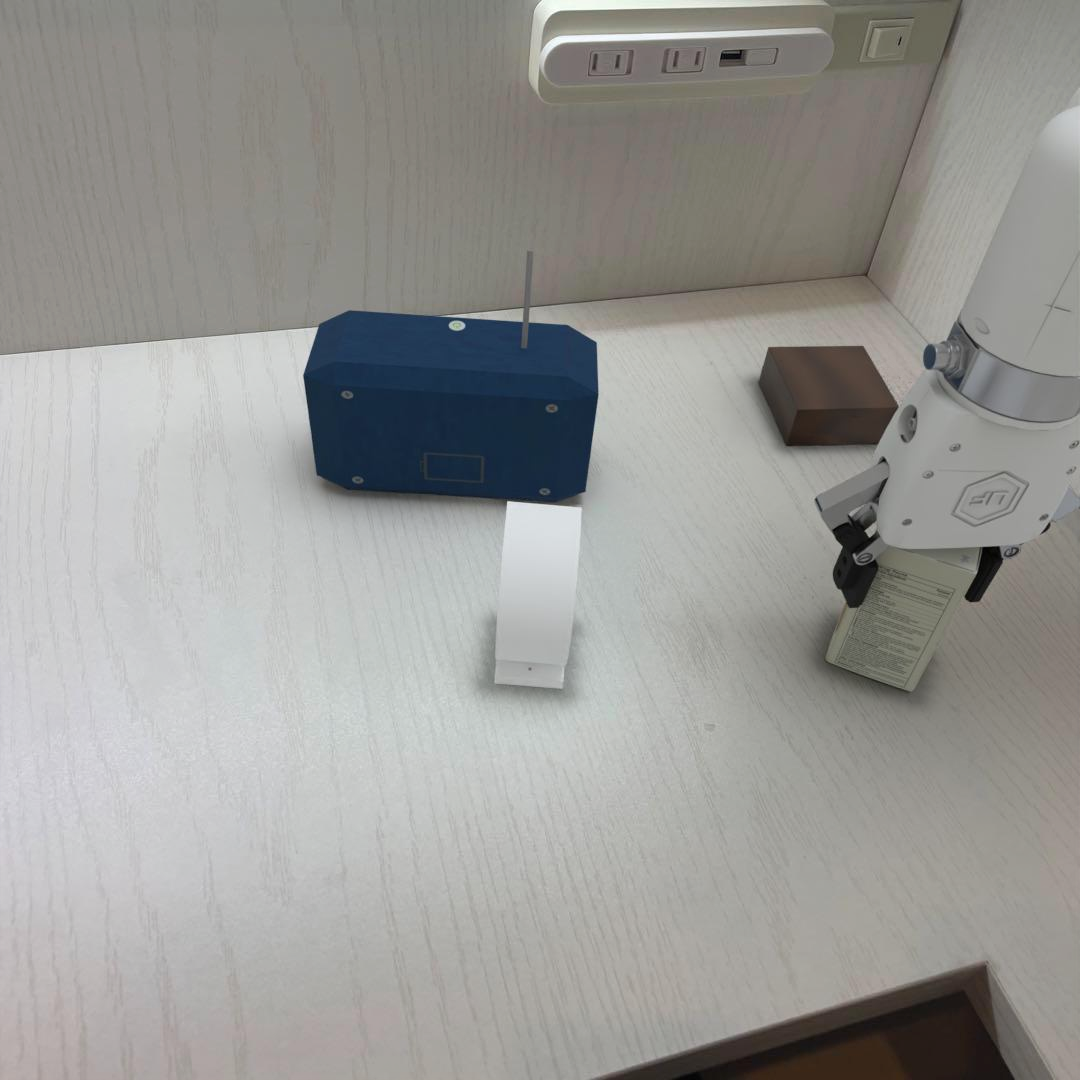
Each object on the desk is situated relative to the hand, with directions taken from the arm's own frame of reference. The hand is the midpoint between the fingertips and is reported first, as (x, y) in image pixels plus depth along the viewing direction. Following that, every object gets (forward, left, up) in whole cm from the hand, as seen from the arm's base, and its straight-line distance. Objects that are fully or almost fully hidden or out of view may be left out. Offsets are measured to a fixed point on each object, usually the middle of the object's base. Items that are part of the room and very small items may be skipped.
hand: (905, 587), depth 63 cm
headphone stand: (+24, -1, -8) cm, 25 cm away
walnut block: (-5, -27, -7) cm, 28 cm away
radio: (+28, -21, -8) cm, 36 cm away
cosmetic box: (0, 0, -8) cm, 8 cm away
